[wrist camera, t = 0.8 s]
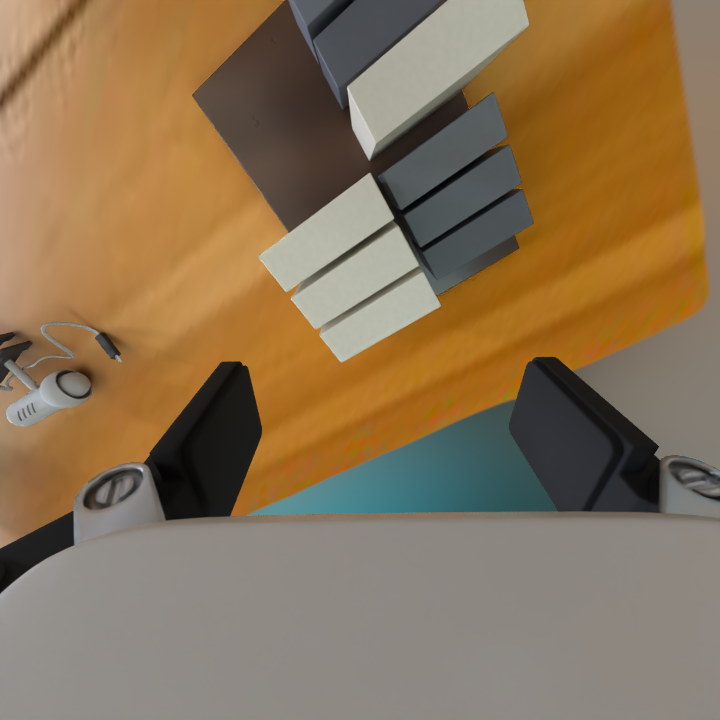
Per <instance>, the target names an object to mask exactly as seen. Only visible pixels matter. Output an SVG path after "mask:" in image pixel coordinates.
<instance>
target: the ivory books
mask: <svg viewBox="0 0 720 720" xmlns="http://www.w3.org/2000/svg"><path fill="white" fill-rule="evenodd" d="M393 219H394V216H393V214H392V212H391V210H390V209H389V207H388V205H387V203H386V201H385V199H384V197H383V195H382V194H381V192H380V190H379V188H378V186H377V184H376V182H375V180H374V179H373V177H372V175H371V173H369V174H367V175H366V176H365V177H363V178H362V179H361V180H359V181H358V182H357V183H355V184H354V185H353V186H351V187H350V188H349V189H347V190H346V191H345V192H343V193H342V194H341V195H339V196H338V197H337V198H335V199H334V200H333V201H331V202H330V203H329V204H327V205H326V206H325V207H323V208H322V209H321V210H319V211H318V212H317V213H315V214H314V215H313V216H311V217H310V218H308V219H307V220H306V221H304V222H303V223H302V224H300V225H299V226H298V227H296V228H295V229H294V230H292V231H291V232H290V233H288V234H287V235H286V236H284V237H283V238H282V239H280V240H279V241H278V242H276V243H275V244H274V245H272V246H271V247H270V248H268V249H267V250H266V251H264V252H263V253H262V254H260V255H259V256H258V257H259V258H260V260H261V261H262V262H263V263H264V265H265V266H266V267H267V269H268V270H269V271H270V272H271V274H272V275H273V276H274V278H275V279H276V280H277V281H278V283H279V284H280V285H281V286H282V288H283V289H284V290H285V292H288V291H289V290H291V289H292V288H294V287H295V286H297V285H298V284H300V285H299V286H298V288H297V290H296V291H295V293H294V294H293V296H292V298H291V299H292V300H293V302H294V303H295V304H296V306H297V307H298V308H299V309H300V311H301V312H302V313H303V315H304V316H305V317H306V318H307V320H308V321H309V322H310V324H311V325H312V326H313V327H314V329H318V328H319V327H321V326H322V328H321V332H320V336H321V338H322V339H323V340H324V342H325V343H326V344H327V345H328V347H329V348H330V349H331V351H332V352H333V353H334V354H335V356H336V357H337V358H338V360H339V361H340V362H341V363H342V362H344V361H345V360H347V359H349V358H351V357H352V356H354V355H356V354H358V353H360V352H361V351H363V350H365V349H367V348H368V347H370V346H372V345H374V344H375V343H377V342H379V341H381V340H382V339H384V338H386V337H388V336H389V335H391V334H393V333H395V332H396V331H398V330H400V329H402V328H404V327H405V326H407V325H409V324H411V323H412V322H414V321H416V320H418V319H419V318H421V317H423V316H425V315H426V314H428V313H430V312H432V311H433V310H435V309H437V308H439V307H441V304H440V302H439V301H438V299H437V297H436V295H435V293H434V291H433V289H432V287H431V286H430V284H429V282H428V280H427V278H426V276H425V274H424V272H423V271H422V270H421V268H420V267H419V263H418V261H417V259H416V257H415V256H414V254H413V252H412V250H411V248H410V246H409V244H408V242H407V241H406V239H405V237H404V235H403V233H402V231H401V229H400V227H399V226H398V225H397V224H396V223H395V222H394V221H393Z"/></svg>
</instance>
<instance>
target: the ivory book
mask: <svg viewBox="0 0 720 720" xmlns="http://www.w3.org/2000/svg"><path fill="white" fill-rule="evenodd" d="M528 26H529V20H528V17H527V13H526V9H525V5H524V1H523V0H447V1H446V2H445V3H444V4H443V5H442V6H441V7H439V8H438V9H437V10H436V11H435V12H434V13H432V14H431V15H430V16H429V17H428V18H427V19H425V20H424V21H423V22H422V23H421V24H420V25H418V26H417V27H416V28H415V29H414V30H413V31H411V32H410V33H409V34H408V35H407V36H406V37H404V38H403V39H402V40H401V41H400V42H399V43H397V44H396V45H395V46H394V47H393V48H392V49H390V50H389V51H388V52H387V53H386V54H385V55H383V56H382V57H381V58H380V59H379V60H378V61H376V62H375V63H374V64H373V65H372V66H371V67H369V68H368V69H367V70H366V71H365V72H364V73H362V74H361V75H360V76H359V77H358V78H357V79H355V80H354V81H353V82H352V83H351V84H350V85H348V86H347V90H348V98H349V106H350V114H351V122H352V129H353V131H354V133H355V135H356V137H357V139H358V140H359V142H360V144H361V146H362V148H363V150H364V152H365V154H366V156H367V158H368V159H369V161H370V160H372V159H373V158H374V157H376V156H377V155H378V154H380V153H381V152H382V151H383V150H385V149H386V148H387V147H389V146H390V145H391V144H393V143H394V142H395V141H397V140H398V139H399V138H401V137H402V136H403V135H404V134H406V133H407V132H408V131H410V130H411V129H412V128H414V127H415V126H416V125H418V124H419V123H420V122H422V121H423V120H424V119H426V118H427V117H428V116H429V115H431V114H432V113H433V112H435V111H436V110H437V109H439V108H440V107H441V106H443V105H444V104H445V103H447V102H448V101H449V100H450V99H452V98H453V97H454V96H456V95H457V94H458V93H459V92H460V91H461V90H462V89H463V88H464V87H465V86H466V85H467V84H468V83H470V82H471V81H472V80H473V79H474V78H475V77H476V76H477V75H478V74H479V73H480V72H481V71H482V70H483V69H484V68H485V67H486V66H487V65H488V64H489V63H490V62H491V61H493V60H494V59H495V58H496V57H497V56H498V55H499V54H500V53H501V52H502V51H503V50H504V49H505V48H506V47H507V46H508V45H509V44H510V43H511V42H512V41H513V40H515V39H516V38H517V37H518V36H519V35H520V34H521V33H522V32H523V31H524V30H525V29H526V28H527V27H528Z"/></svg>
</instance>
